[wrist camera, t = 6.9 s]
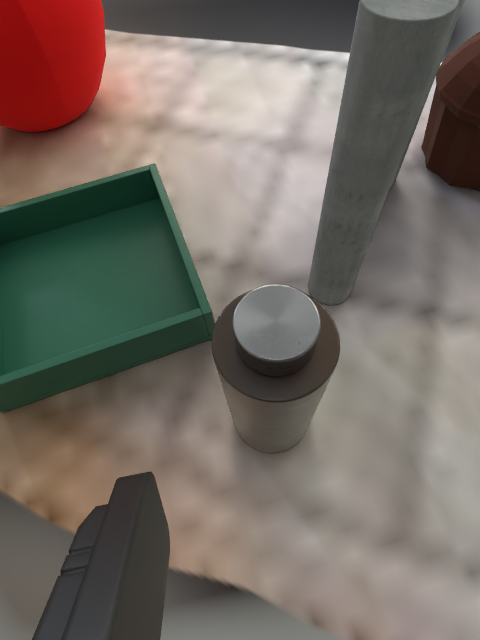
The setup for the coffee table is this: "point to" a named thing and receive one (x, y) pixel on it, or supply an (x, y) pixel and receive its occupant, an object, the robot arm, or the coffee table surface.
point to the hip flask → (375, 128)
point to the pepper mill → (274, 363)
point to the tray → (93, 286)
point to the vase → (49, 61)
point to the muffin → (456, 118)
